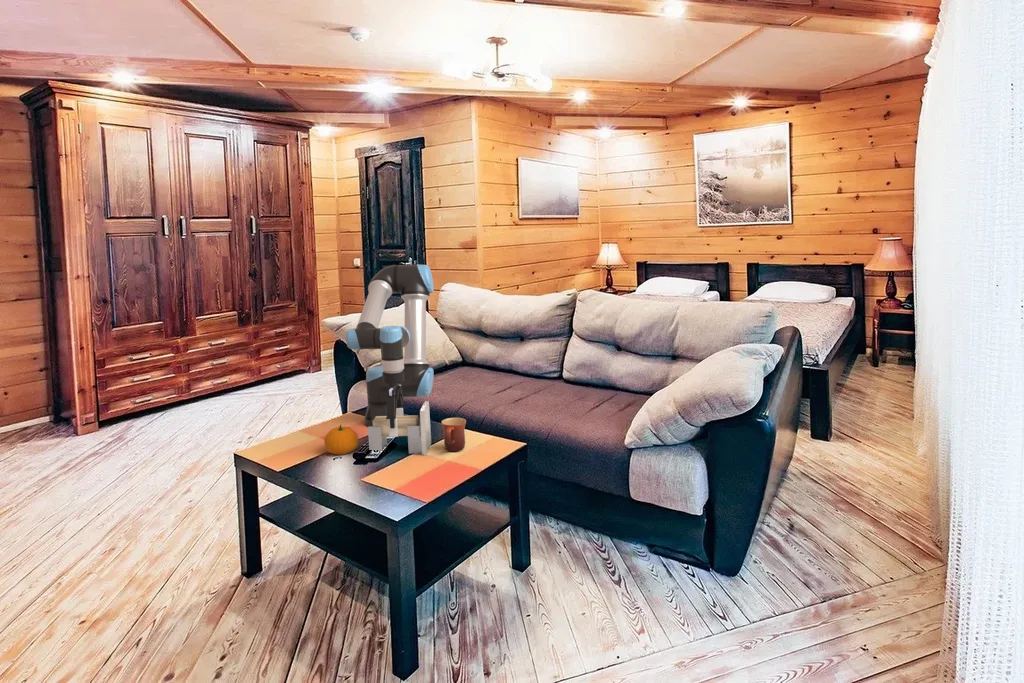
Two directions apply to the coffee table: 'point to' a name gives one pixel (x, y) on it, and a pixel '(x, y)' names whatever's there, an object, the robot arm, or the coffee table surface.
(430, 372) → the robot arm
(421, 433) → the cup bracket
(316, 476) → the coffee table surface
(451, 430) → the mug
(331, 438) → the fruit
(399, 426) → the light wooden block
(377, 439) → the saddle post
